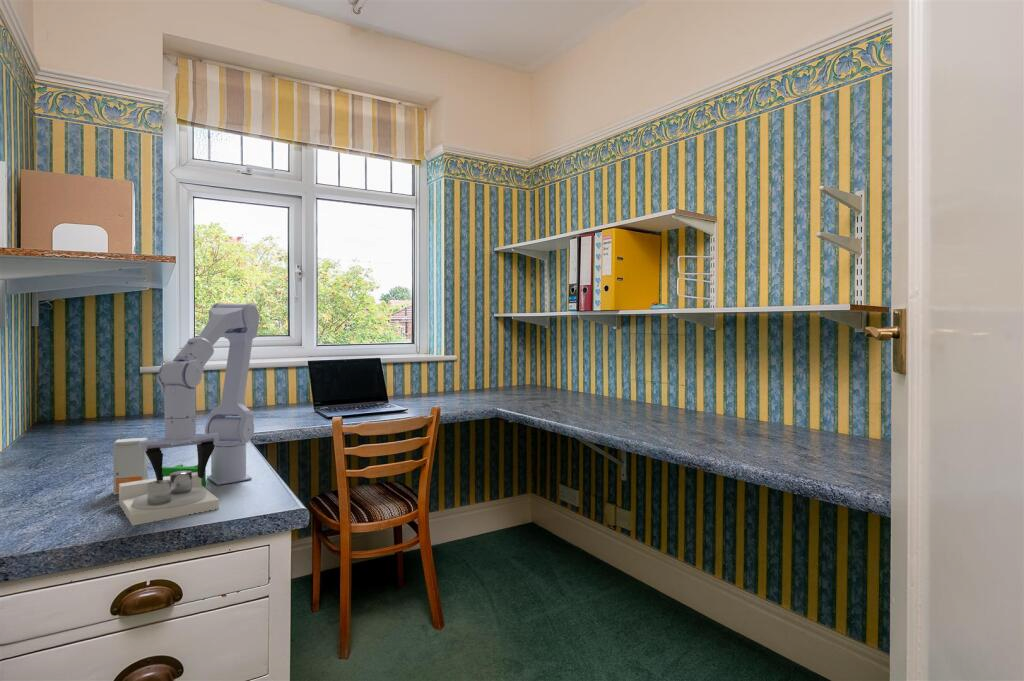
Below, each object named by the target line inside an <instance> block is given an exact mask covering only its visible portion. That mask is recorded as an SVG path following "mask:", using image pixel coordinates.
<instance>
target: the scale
mask: <svg viewBox="0 0 1024 681" xmlns="http://www.w3.org/2000/svg"><path fill="white" fill-rule="evenodd" d="M163 480H170V476H167V477H166V476H165V477H163ZM153 481H157V479H156V477H155V478H149V479H147V480H140V481H134V482H127V483H120V484H119V494H118V505H119V507H120V508H122V509H121V510H122V511H124V512H123V513H124V515H125V516H126V518H127V519H129V523H130V525H131V526H132V527H133V526H138V525H139V526H140V525H143V524H148V523H154V521H155V522H158V521H163V520H164V519H165V520H169V519H174V518H179V517H180V518H181V517H185V516H189V514H191V515H194V513H196V514H200V513H199V512H201V513H205V511H206V512H209V510H211V511H216V510H220V500H219V498H217V497H216V495H214V494H213V493H212V492H210V491H209V490H208V489H207V488H205V486H204V487H203V486H202V485H201V478H199V477H198V472H194V473H192V491H191V492H188V493H184V494H171V502H169V503H167V504H163V505H156V506H150V505H148V504H147V484H148V483H150V482H153ZM215 509H216V510H215ZM165 520H164V521H165Z"/></svg>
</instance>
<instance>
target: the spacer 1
mask: <svg viewBox="0 0 1024 681" xmlns="http://www.w3.org/2000/svg"><path fill="white" fill-rule="evenodd" d="M169 502H171V481H170V480H158V481H153V482H150V483H148V484H147V504H148V505H150V506H156V505H163V504H167V503H169Z"/></svg>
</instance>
